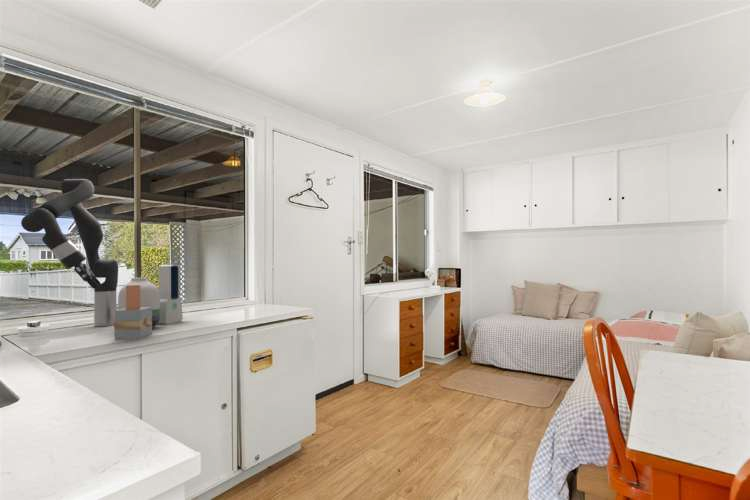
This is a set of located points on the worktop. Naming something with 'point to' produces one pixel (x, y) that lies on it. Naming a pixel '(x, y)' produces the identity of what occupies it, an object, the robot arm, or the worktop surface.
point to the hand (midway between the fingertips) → (97, 286)
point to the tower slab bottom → (133, 333)
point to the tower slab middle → (132, 324)
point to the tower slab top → (133, 313)
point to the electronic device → (169, 294)
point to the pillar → (132, 297)
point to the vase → (143, 297)
